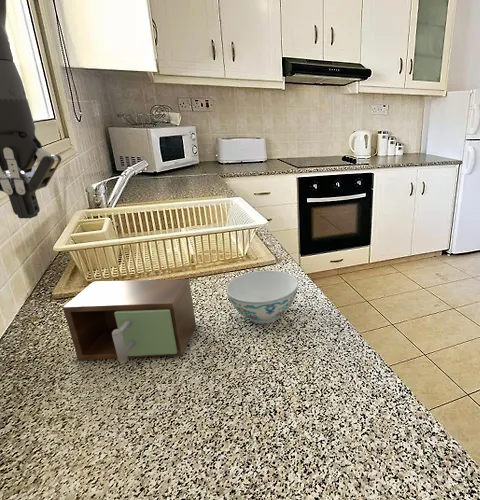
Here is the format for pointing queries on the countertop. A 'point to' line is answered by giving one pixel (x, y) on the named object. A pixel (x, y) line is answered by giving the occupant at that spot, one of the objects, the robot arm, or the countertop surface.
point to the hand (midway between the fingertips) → (28, 217)
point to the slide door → (143, 333)
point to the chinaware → (262, 294)
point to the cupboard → (126, 299)
